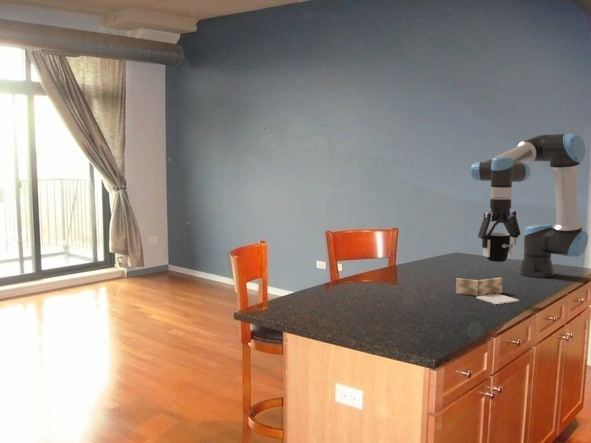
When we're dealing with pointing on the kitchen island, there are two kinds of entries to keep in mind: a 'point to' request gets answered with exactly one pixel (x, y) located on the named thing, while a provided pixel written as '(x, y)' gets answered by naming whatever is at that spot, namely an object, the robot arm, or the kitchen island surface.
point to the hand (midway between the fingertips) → (498, 255)
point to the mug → (499, 247)
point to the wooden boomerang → (479, 286)
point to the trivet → (497, 299)
